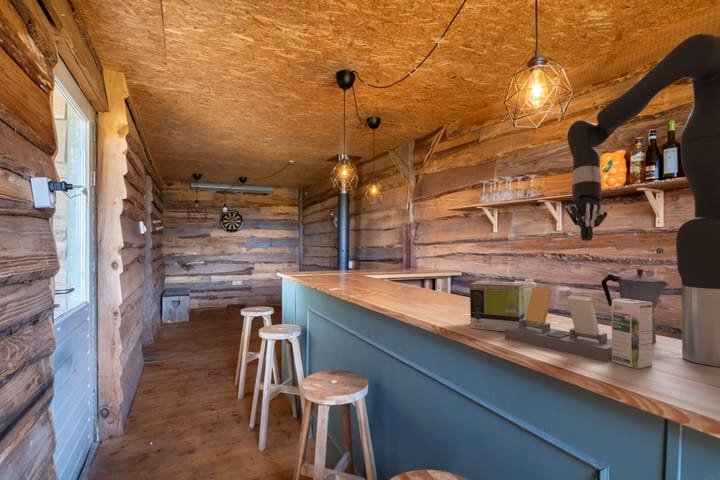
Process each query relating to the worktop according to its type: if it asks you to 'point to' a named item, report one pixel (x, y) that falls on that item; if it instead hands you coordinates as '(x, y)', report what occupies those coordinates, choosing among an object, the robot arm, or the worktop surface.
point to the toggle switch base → (562, 341)
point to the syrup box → (632, 333)
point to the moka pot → (637, 290)
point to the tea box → (496, 304)
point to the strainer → (527, 293)
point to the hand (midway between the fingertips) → (586, 240)
